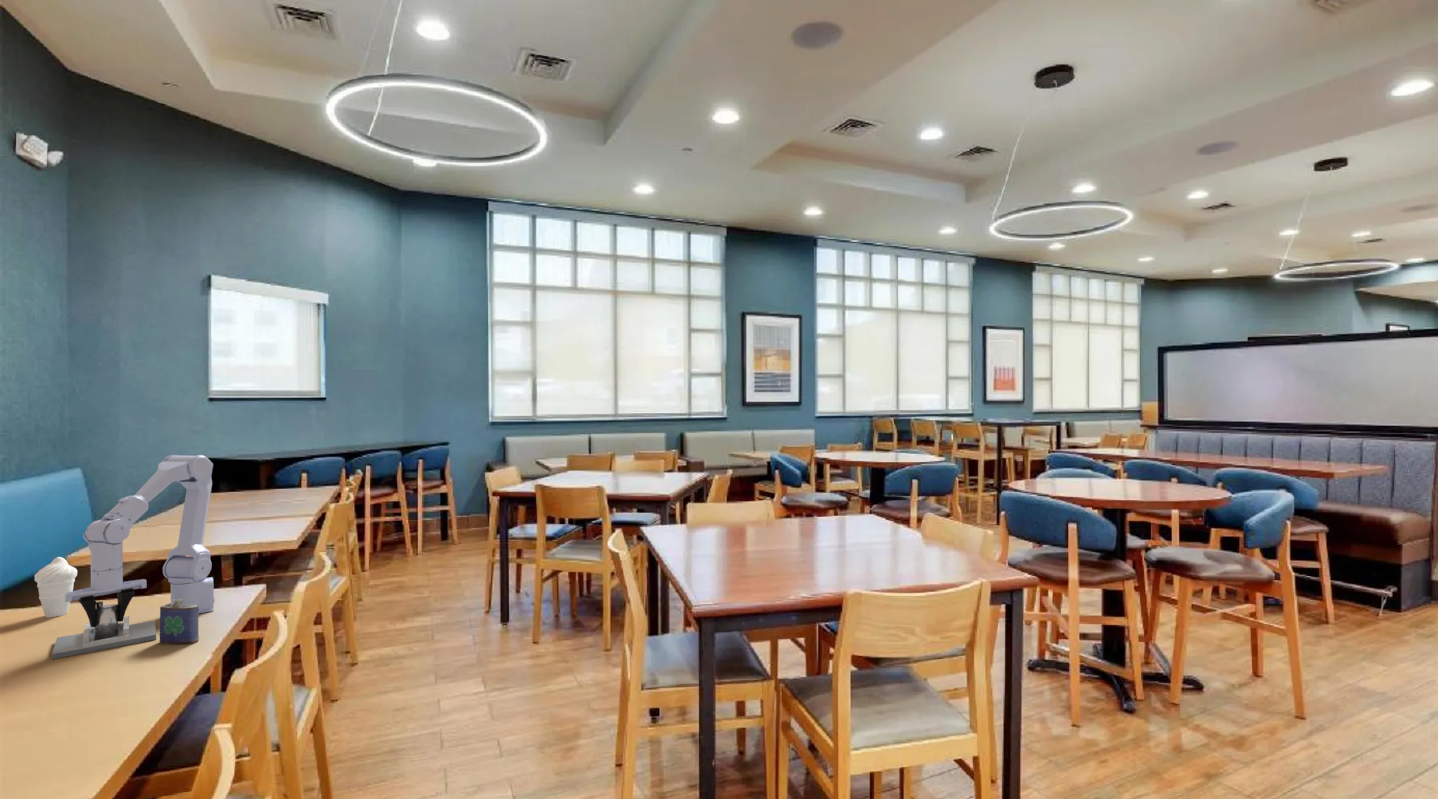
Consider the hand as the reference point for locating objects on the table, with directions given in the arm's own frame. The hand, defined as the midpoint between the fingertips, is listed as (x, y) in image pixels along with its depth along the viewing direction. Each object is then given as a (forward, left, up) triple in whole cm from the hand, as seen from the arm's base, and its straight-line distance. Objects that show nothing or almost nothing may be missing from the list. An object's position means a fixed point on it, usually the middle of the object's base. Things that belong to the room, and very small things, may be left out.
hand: (107, 623), depth 158 cm
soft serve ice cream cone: (+11, -36, -4) cm, 38 cm away
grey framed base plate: (0, 0, -4) cm, 4 cm away
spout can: (0, 0, -3) cm, 3 cm away
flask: (-13, +13, -5) cm, 19 cm away
